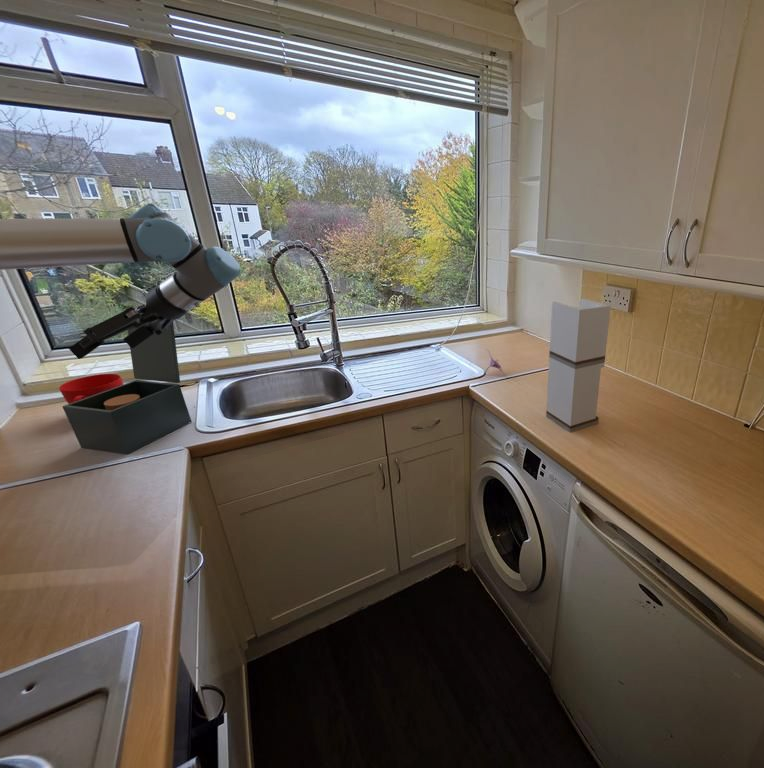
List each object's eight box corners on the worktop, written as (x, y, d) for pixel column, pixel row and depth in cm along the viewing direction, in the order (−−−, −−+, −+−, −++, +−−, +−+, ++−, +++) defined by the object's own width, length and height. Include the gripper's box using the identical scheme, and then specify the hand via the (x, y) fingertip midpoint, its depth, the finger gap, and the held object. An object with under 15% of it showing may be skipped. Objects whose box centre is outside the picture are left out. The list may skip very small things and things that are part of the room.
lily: (499, 384, 149) (511, 361, 148) (471, 370, 149) (482, 346, 148) (502, 382, 161) (513, 360, 160) (475, 368, 161) (486, 347, 160)
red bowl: (56, 432, 110) (40, 399, 106) (85, 407, 124) (72, 377, 121) (117, 423, 115) (104, 391, 111) (138, 400, 129) (127, 371, 126)
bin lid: (169, 315, 108) (172, 315, 109) (124, 312, 111) (128, 312, 111) (177, 383, 112) (180, 382, 113) (134, 378, 114) (137, 378, 115)
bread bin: (127, 454, 101) (110, 412, 96) (81, 447, 103) (61, 406, 99) (191, 421, 117) (179, 384, 112) (150, 416, 119) (136, 379, 115)
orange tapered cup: (110, 440, 105) (96, 406, 101) (130, 427, 112) (117, 394, 108) (140, 439, 106) (126, 404, 102) (158, 426, 113) (146, 393, 109)
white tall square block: (597, 423, 120) (610, 305, 106) (569, 432, 115) (579, 309, 101) (573, 408, 129) (582, 298, 115) (546, 416, 123) (552, 301, 110)
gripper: (143, 316, 81) (63, 373, 82) (221, 307, 105) (157, 351, 106) (114, 283, 79) (32, 343, 80) (200, 282, 103) (135, 327, 104)
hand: (103, 348), depth 93 cm, fingers open, 13 cm apart
